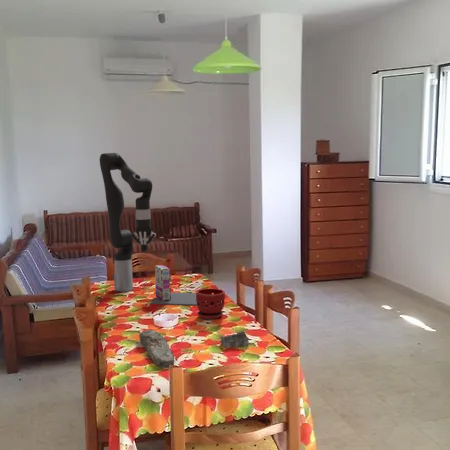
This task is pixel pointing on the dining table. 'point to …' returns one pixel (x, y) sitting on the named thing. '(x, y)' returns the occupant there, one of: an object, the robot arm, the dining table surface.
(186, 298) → the rubber mat
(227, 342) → the egg carton
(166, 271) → the candy bar box
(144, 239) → the robot arm
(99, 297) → the dining table surface
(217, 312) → the plant pot
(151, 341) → the long grey stone
